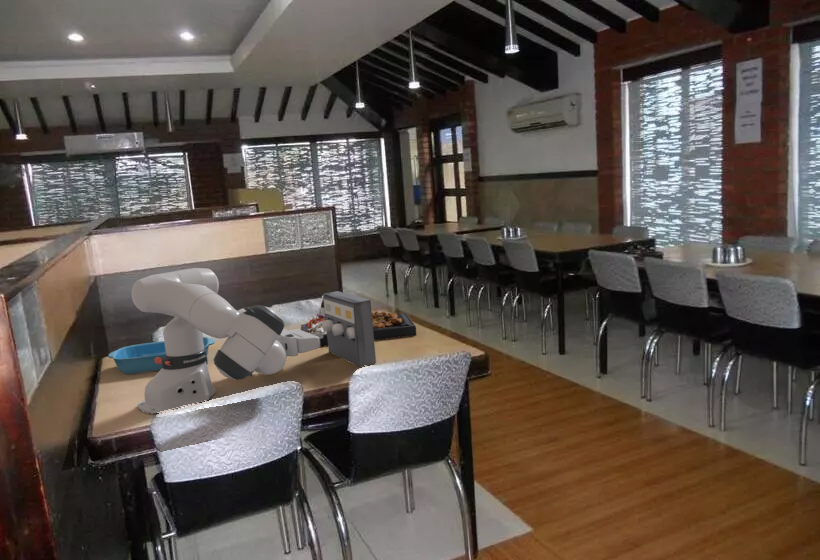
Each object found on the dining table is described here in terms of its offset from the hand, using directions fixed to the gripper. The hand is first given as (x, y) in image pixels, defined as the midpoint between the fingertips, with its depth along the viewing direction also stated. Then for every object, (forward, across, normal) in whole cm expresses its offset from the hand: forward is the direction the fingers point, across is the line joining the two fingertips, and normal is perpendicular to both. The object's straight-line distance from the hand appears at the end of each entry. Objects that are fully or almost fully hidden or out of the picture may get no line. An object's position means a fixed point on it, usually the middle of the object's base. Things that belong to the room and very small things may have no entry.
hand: (321, 334), depth 214 cm
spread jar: (+31, -64, -9) cm, 72 cm away
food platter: (+27, -29, -10) cm, 41 cm away
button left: (+7, -9, -1) cm, 11 cm away
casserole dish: (-44, -46, -10) cm, 64 cm away
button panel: (+10, 0, -10) cm, 14 cm away
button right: (+9, +8, -2) cm, 12 cm away
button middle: (+7, 0, -1) cm, 7 cm away
